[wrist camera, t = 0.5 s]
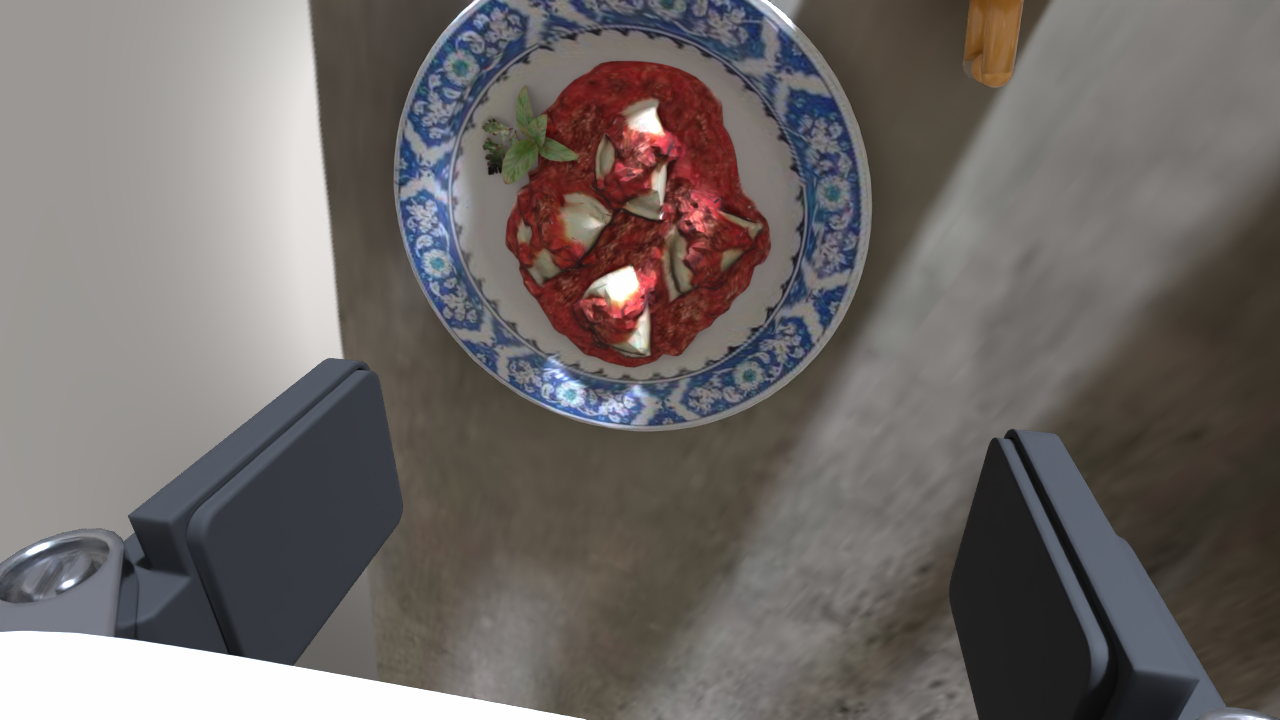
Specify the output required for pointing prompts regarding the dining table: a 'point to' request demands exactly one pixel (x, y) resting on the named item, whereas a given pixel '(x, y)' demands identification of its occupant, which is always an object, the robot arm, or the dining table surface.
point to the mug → (992, 40)
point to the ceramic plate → (633, 202)
